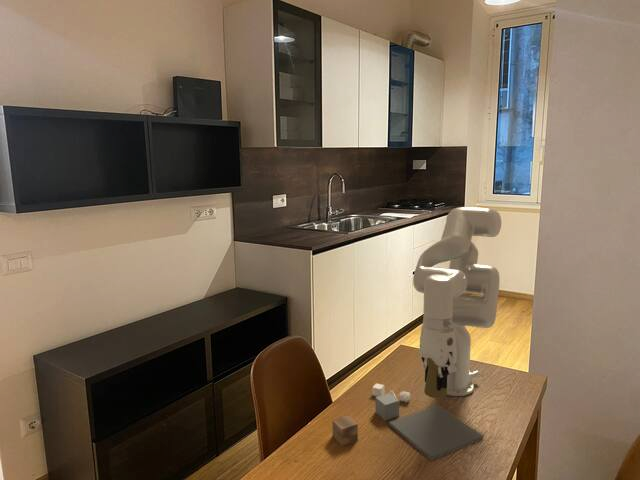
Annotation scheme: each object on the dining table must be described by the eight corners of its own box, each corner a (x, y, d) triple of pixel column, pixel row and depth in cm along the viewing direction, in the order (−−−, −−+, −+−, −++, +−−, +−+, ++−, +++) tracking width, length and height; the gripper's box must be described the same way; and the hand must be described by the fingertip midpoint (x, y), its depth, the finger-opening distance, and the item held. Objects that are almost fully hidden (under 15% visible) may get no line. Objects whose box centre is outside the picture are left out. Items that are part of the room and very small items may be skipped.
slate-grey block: (389, 408, 147) (389, 392, 146) (399, 415, 143) (399, 400, 142) (375, 412, 145) (375, 397, 144) (385, 420, 141) (385, 405, 140)
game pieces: (372, 396, 155) (372, 387, 154) (376, 391, 158) (376, 382, 157) (408, 405, 149) (408, 395, 148) (411, 400, 152) (411, 390, 151)
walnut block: (348, 431, 136) (348, 415, 135) (357, 440, 132) (357, 424, 131) (332, 436, 134) (332, 420, 133) (341, 446, 130) (341, 429, 129)
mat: (437, 407, 147) (437, 404, 146) (482, 439, 131) (482, 435, 131) (388, 425, 138) (388, 422, 138) (431, 460, 123) (431, 457, 123)
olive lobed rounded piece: (447, 399, 129) (448, 360, 126) (424, 397, 130) (425, 359, 128) (446, 387, 134) (447, 350, 132) (424, 386, 136) (425, 349, 133)
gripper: (471, 329, 123) (468, 395, 126) (427, 310, 137) (426, 369, 141) (449, 335, 119) (446, 403, 123) (406, 314, 134) (405, 376, 137)
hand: (435, 384), depth 132 cm, fingers closed on olive lobed rounded piece, 4 cm apart
